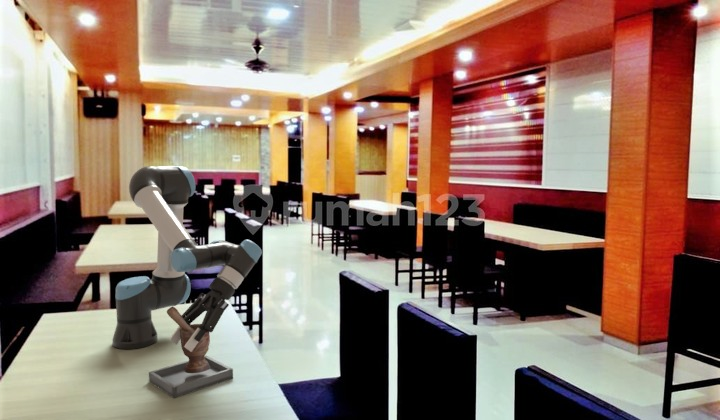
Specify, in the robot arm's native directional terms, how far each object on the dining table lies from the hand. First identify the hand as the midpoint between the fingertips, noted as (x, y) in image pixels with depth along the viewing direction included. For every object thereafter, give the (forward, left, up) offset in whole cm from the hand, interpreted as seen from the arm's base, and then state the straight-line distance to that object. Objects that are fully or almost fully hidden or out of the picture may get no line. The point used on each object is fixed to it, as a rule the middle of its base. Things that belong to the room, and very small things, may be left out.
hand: (180, 345), depth 157 cm
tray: (0, +3, -12) cm, 12 cm away
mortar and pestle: (0, +3, -9) cm, 10 cm away
